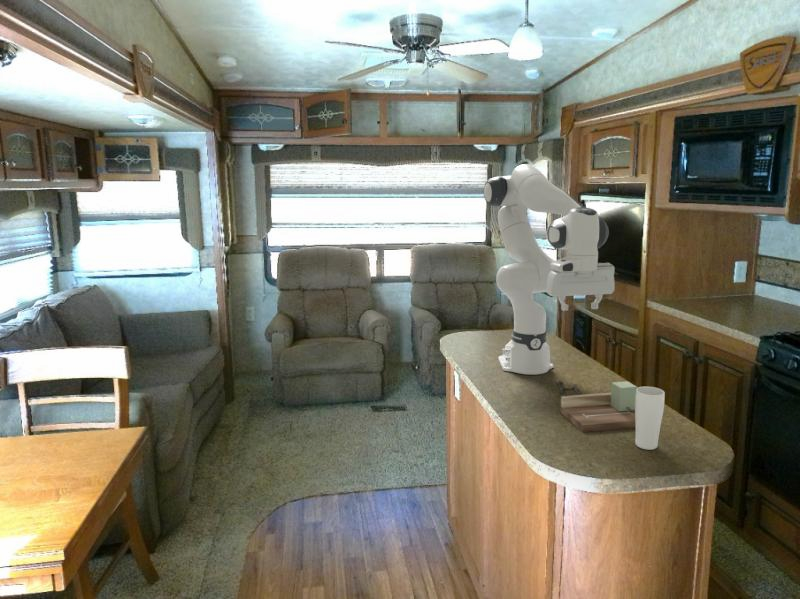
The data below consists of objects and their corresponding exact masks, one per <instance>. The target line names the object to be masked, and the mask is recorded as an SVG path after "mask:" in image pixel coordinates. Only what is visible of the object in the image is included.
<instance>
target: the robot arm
mask: <svg viewBox="0 0 800 599" xmlns="http://www.w3.org/2000/svg"><path fill="white" fill-rule="evenodd" d="M483 195H484V200H485V202H486V203H487V204H488V205H489V206H491V207H500V209H499V210H498V212H497V222H498V229H499V232H500V236H501V239H502V242H503V245H504V246H503V247H504V248H505V249H504V250H505V252H506V254H507V255H508V257H509V258H511V259H513V260H515V261H517V262H513V263H508V264H505V265H503V266H500V267H499V269H498V271H497V272H496V276H495V282H496V285H497V288H498V289H499V291H500V292H502V293H503V294H504V295H505V296H506V297H507V298H508V300H510V303H511V305H512V310H513V329H512V332H511V337H510V338H511V339H510V341H509V342H508V343H506V344H505V346H504V348H502V350H501V354H502V355H499V356H498V362H499V364H500V366H501V368H502V370H503V371H505V372H512V373H517V374H520V375H521V374H522V375H533V376H534V375H543V374H545V373H548V371H550V370H551V369H553V368H554V363H551V350H550V347H551V346H550V345H549V344H548V343H547V341H548V340H547V338H548V334H547V331H546V328H547V325H546V324H547V311H546V309H545V308H544V307H543V305H541V304H540V303H538V302H535V300H534V294H535V293H536V294H538V293H547V295H549V296H551V297H554V298H555V297H557V299H558V302H560V308H561V311H563V312H566V311H567V312H568V311H569V306H570V305H569V304H566V301H565V300H566V297H573V296H594V297H595V299H594V301H593V302H590V305H591V306H590V309H592V310H598V309H599V304H600V303H601V301H602V299H603V296H604V295H612V294H613V293H614V292H615V287H616V286H615V285H616V284H615V271H616V270H615V266H614V265H613V264H611V263H610V262H598V260H599V250H598V249H600V248H601V247H602V246H603V245H605V243H606V242H607V240H608V237H609V234H610V230H609V226H608V224H607V223H606V221H605V220H604V219H603V218H602V217H601V216H599V214H598V211H597V210H595V209H594V208H590V207H585V206H584V205H583V204H582V203H580V202H579V201H578V199H576V198H575V197H574V196H572V195H571V194H570V193H567V192H566V191H564V190H562V189H561V188H559V187H557V186H556V185H555V184H553V183H552V182H551V181H550V180H548V178H547V177H546V176H545V175H544V174H543V173H542V172H541V171H540V169H538V168H536V167H535V166H533V165H532V164H528V163H524V164H520V165H518V166H517V167H515V168H514V169H513V170H512V172H511V174H509V175H503V176H499V175H498V176H494V177H492V178H491V177H490V178H489V179H487V181H486V182H485V184H484V187H483ZM527 209H528V210H530V211H533V212H536V213H547V214H556V215H561V216H562V217H560V218H556V219H554V220H553V221H552V222H551V223H550V224H549V226H548V229H547V240H548V242H549V244H550V245H551V246H552V247H553V248H554V249H557V250H567V251H566V256H565V257H562V258H560V259H557V260H554V259H553V258H551V257H550V256H549V255H548V254H547V253H545V252H544V250H543V249H542V248H541V247H540V246H539V243H538V241H537V238H536V236H535V234H534V232H533V229H532V227H531V223H530V222H529V218H528V216H527V215H528V214H527Z"/></svg>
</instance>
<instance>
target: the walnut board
mask: <svg viewBox="0 0 800 599" xmlns="http://www.w3.org/2000/svg"><path fill="white" fill-rule="evenodd" d="M610 403H611V392H603V393H602V392H600V393H589V394H588V393H587V394H585V393H584V394H582V395H578V394H575V395H573V394H572V395H567V396H564V395H562V396H560V410H559V411H560V412H561V413H560V414H561V415H563V416H564V417H565V418H566V419H567V420H568V421H569V422H570V423H571V424H573V425H574V426H575V427H576V428H577V429H578V430H579V431H581V433H586V432H587V433H588V432H589V433H590V432H600V431H610V430H621V429H632V428H633V429H634V428H635V410H631V411H618V410H617V409H615V408H614V407H612V406H611V405H610Z"/></svg>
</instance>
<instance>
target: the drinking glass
mask: <svg viewBox="0 0 800 599" xmlns="http://www.w3.org/2000/svg"><path fill="white" fill-rule="evenodd" d="M665 394H666V393H665V391H664V390H663V389H661V388H660V387H659V388H658V387H655V386H648V385H647V386H639V387H638V386H637V389H636V396H635V443H634V444H635V446H637V447H638V448H639V449H642V450H646V451H648V450H649V451H650V450H651V451H652V450H656V449H657V448H658V444H659V438H660V437H659V436H660V430H661V425H662V420H663V416H664V409H665V408H664V407H665V399H666V398H665V397H666V396H665Z"/></svg>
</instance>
